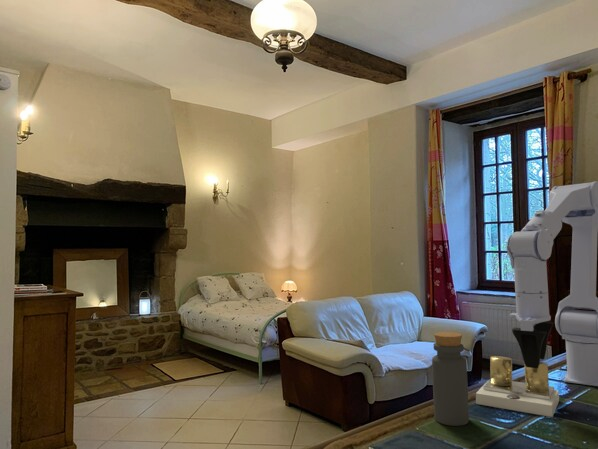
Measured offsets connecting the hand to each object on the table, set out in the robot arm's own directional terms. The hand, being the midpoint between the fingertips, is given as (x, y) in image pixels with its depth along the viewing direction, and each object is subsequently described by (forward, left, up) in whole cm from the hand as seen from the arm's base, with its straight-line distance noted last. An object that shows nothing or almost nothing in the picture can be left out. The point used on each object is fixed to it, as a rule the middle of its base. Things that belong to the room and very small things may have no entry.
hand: (535, 362), depth 87 cm
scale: (+2, -3, -8) cm, 8 cm away
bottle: (+17, -11, -8) cm, 22 cm away
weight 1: (0, -6, -5) cm, 8 cm away
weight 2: (0, 0, -5) cm, 5 cm away
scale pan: (0, -3, -6) cm, 7 cm away
